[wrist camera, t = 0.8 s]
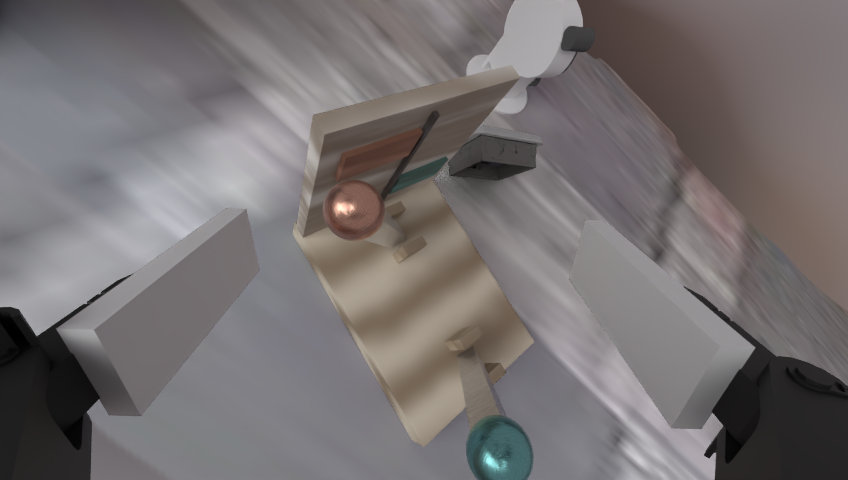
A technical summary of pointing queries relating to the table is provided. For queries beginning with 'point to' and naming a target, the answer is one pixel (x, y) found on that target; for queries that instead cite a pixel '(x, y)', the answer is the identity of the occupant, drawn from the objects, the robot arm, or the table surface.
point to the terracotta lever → (360, 214)
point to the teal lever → (491, 427)
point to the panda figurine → (535, 46)
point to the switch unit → (410, 247)
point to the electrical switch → (495, 154)
